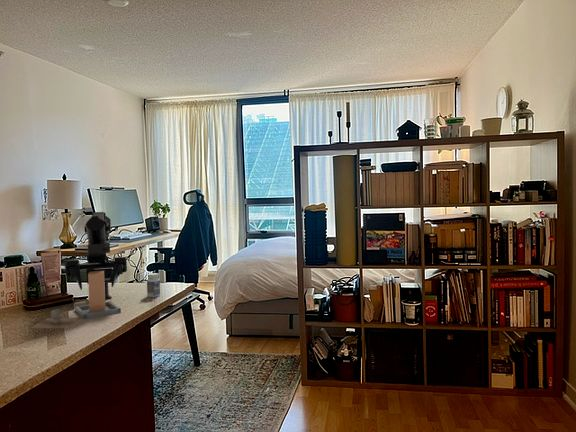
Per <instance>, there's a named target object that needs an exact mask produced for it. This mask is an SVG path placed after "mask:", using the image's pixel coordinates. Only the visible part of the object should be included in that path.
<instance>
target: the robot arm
mask: <svg viewBox="0 0 576 432" xmlns="http://www.w3.org/2000/svg"><path fill="white" fill-rule="evenodd" d="M83 228H84V233H85V234H86V235H87V240H88V242H87V243H88V244H87V252H86V261H87V262H84V263H83V262H81V263H80V260H79V259H69V260H66V261H65V262H64V269H65V274H66V276H67V277H70V279H74V280H75V281H76V282H77V284H78V287H79V289H80V290H81V291H82V290H83V284H82V283H83V282H82V276H81V275H82V274H81V271H85V270H86V282H87V283H86V284H87V285H89V283H88V273H89V272H94V271H104V280H105V300H109V299H112V296H111V295H109V294H110V293H109V283H110V284H111V288H114V285H115V284H116V281H117V280H118V278H119V276H120V275H123V274H124V273H126V272H127V271H128V267H127V266H128V263H127V260H128V259H127V257H126V256H119V257H118V256H117V257H116V256H115V257H114V260H113V261H110V260H109V256H107V254H110V253H111V243H110V242H107V239H108V238H110V233H111V232H112V223H111V219H110V217H108V216H107V214H106V212H105V211H95V212H91V217H90V218H89V219H88V220H87V221H86V223H85V224H84V227H83Z"/></svg>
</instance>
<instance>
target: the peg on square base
mask: <svg viewBox="0 0 576 432" xmlns="http://www.w3.org/2000/svg"><path fill="white" fill-rule="evenodd" d="M78 320H80V317H61V309H51V311H50V317H47V318H45V319H43V320H42V321H40V322H39V323H37V324H35V325H33V326H32V327H29V330H30V329H31V330H32V329H65V328H67V327H69V326H71V325H72V324H73V323H74V322H77V321H78Z"/></svg>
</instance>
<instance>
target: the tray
mask: <svg viewBox="0 0 576 432" xmlns="http://www.w3.org/2000/svg"><path fill="white" fill-rule="evenodd" d="M105 307H106V310H105V311H100V312H94V313H90V308H89V304H84V305H80V306H79V305H78V306H75V312H76V313H77V314H79V316H81V318H82V319H83V320H85V319H92V318H97V317H102V316H108V315H114V314H120V313H122V312H121V307H119V306H117V305H116V304H115V303H114V302H112V301H105Z"/></svg>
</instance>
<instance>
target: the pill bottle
mask: <svg viewBox="0 0 576 432" xmlns="http://www.w3.org/2000/svg"><path fill="white" fill-rule="evenodd" d="M159 276H160V273H158V272H157V273H156V272H154V273H153V272H151V273H147V279H146V292H147V297H149V298H156V297H159V296H161V279H160V277H159Z"/></svg>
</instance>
